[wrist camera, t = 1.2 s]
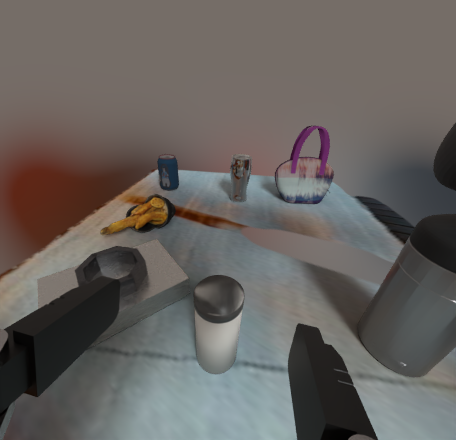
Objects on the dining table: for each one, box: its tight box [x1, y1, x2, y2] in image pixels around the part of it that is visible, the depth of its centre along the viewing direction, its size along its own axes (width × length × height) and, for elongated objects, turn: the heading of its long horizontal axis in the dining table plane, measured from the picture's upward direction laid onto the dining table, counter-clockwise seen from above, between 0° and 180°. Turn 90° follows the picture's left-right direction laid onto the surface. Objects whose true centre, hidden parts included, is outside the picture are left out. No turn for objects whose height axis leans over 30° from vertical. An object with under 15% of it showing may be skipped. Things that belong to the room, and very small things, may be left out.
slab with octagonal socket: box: [38, 239, 190, 350], centre depth 35 cm, size 20×14×7 cm
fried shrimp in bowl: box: [100, 194, 176, 235], centre depth 53 cm, size 9×11×18 cm
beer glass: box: [230, 154, 252, 202], centre depth 72 cm, size 7×7×15 cm
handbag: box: [275, 126, 334, 204], centre depth 72 cm, size 21×10×25 cm, turn 90°
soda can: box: [158, 154, 179, 191], centre depth 78 cm, size 7×7×12 cm
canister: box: [194, 275, 244, 374], centre depth 27 cm, size 6×6×12 cm
